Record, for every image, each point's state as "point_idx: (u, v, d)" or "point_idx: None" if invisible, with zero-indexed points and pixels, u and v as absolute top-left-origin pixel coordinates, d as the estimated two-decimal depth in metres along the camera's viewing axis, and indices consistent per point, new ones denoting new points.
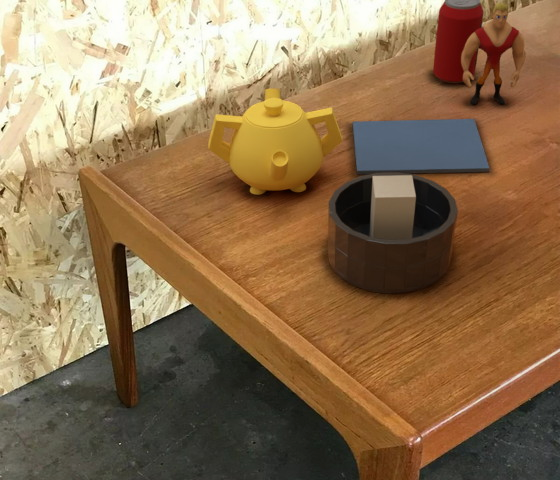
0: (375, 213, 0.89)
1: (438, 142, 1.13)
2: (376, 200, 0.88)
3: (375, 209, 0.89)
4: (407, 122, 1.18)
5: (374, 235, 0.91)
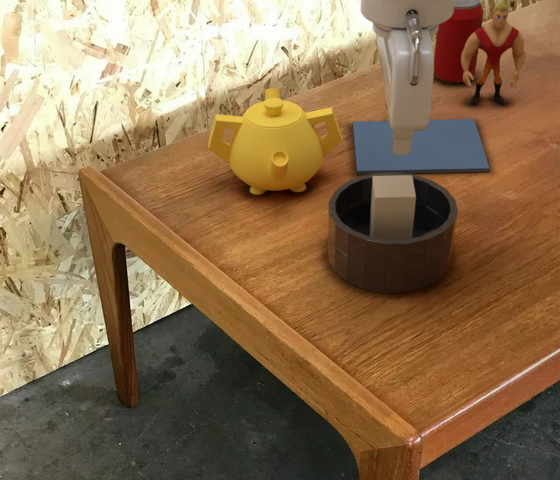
0: (375, 213, 0.89)
1: (438, 142, 1.13)
2: (376, 200, 0.88)
3: (375, 209, 0.89)
4: None
5: (374, 235, 0.91)
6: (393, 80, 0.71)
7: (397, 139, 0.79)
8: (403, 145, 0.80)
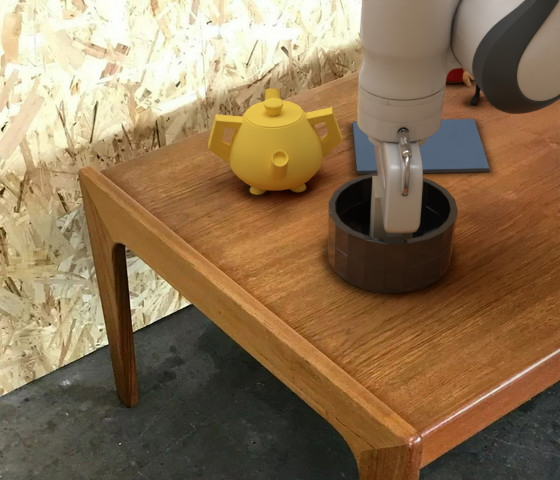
0: (375, 213, 0.89)
1: (438, 142, 1.13)
2: (376, 200, 0.88)
3: (375, 209, 0.89)
4: None
5: (374, 235, 0.91)
6: (386, 191, 0.79)
7: None
8: None
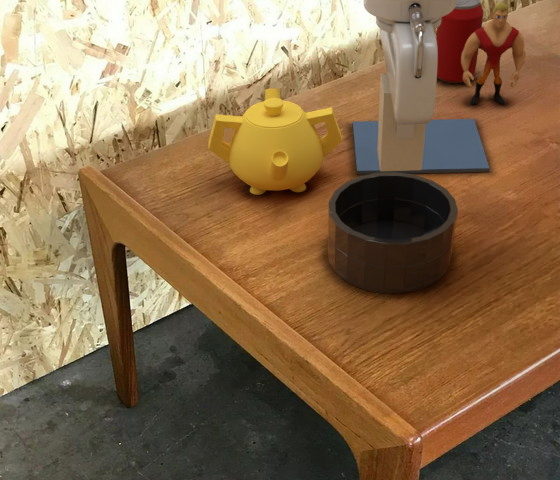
0: (384, 112, 0.82)
1: (438, 142, 1.13)
2: (385, 96, 0.80)
3: (384, 107, 0.81)
4: None
5: (383, 138, 0.84)
6: (397, 73, 0.72)
7: (401, 123, 0.81)
8: (407, 129, 0.81)
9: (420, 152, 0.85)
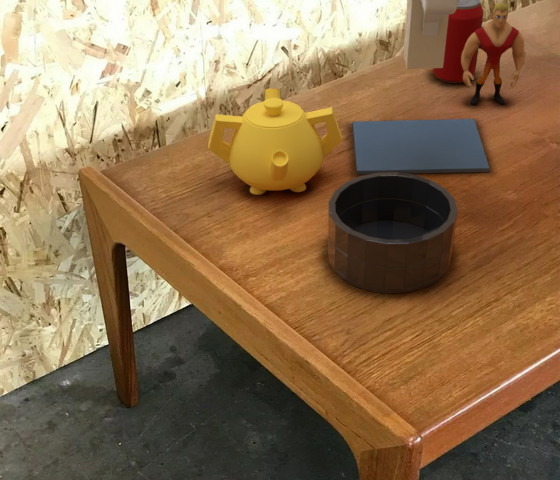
0: (412, 12, 0.94)
1: (438, 142, 1.13)
2: None
3: (412, 7, 0.94)
4: (407, 122, 1.18)
5: (410, 37, 0.96)
6: None
7: (427, 21, 0.93)
8: (432, 27, 0.94)
9: (442, 50, 0.97)
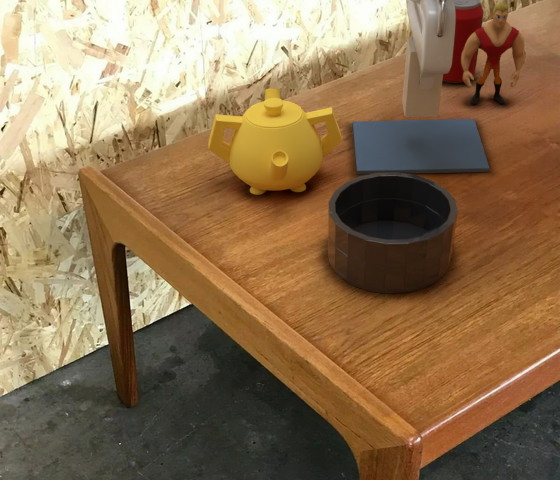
0: (410, 67, 1.03)
1: (438, 142, 1.13)
2: (411, 54, 1.02)
3: (410, 63, 1.03)
4: (407, 122, 1.18)
5: (408, 89, 1.05)
6: (424, 33, 0.93)
7: (423, 76, 1.02)
8: (428, 81, 1.03)
9: (437, 101, 1.06)
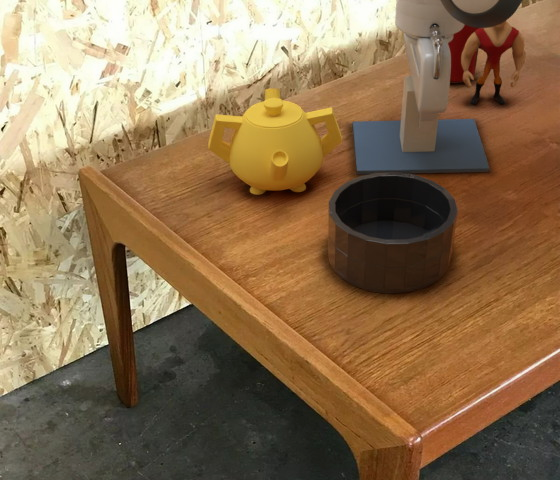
0: (407, 105, 1.07)
1: (438, 142, 1.13)
2: (408, 93, 1.06)
3: (407, 102, 1.06)
4: None
5: (405, 126, 1.09)
6: (421, 75, 0.97)
7: (422, 120, 1.05)
8: (427, 125, 1.05)
9: (433, 137, 1.10)
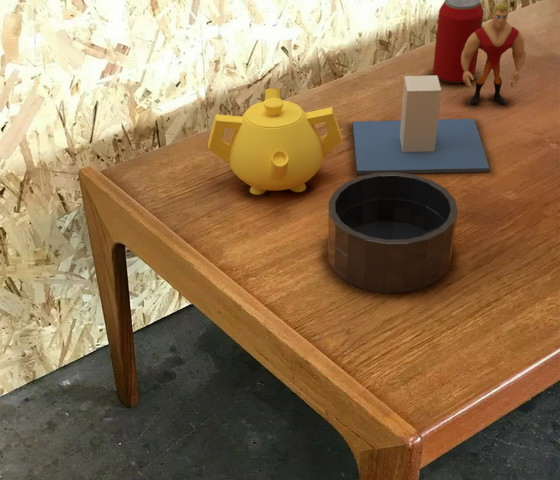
0: (407, 105, 1.07)
1: (438, 142, 1.13)
2: (408, 93, 1.06)
3: (407, 102, 1.06)
4: None
5: (405, 126, 1.09)
6: None
7: None
8: None
9: (433, 137, 1.10)
